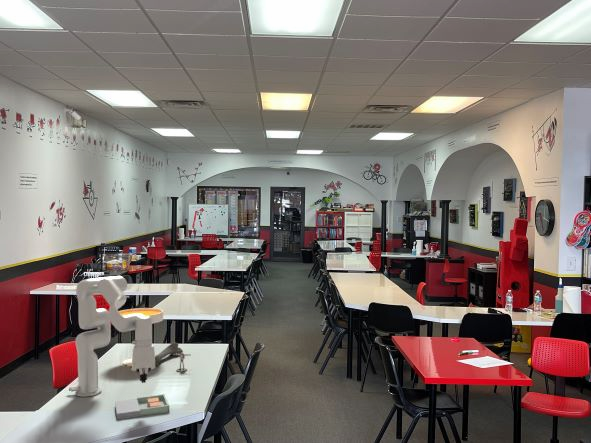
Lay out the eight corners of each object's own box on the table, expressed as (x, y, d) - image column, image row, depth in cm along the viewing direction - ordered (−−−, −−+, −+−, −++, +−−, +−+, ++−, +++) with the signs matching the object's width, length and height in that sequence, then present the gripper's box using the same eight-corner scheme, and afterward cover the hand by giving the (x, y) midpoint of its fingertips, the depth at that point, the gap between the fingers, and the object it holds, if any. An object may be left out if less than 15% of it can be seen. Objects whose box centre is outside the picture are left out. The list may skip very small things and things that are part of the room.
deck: (117, 419, 239) (117, 413, 239) (115, 406, 255) (115, 401, 255) (140, 416, 242) (140, 410, 242) (137, 403, 258) (137, 398, 258)
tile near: (161, 405, 248) (161, 410, 248) (160, 401, 252) (160, 406, 252) (150, 406, 246) (150, 411, 246) (149, 402, 251) (149, 408, 251)
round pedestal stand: (173, 361, 332) (172, 311, 332) (128, 372, 312) (128, 318, 311) (149, 353, 353) (148, 306, 353) (106, 362, 333) (105, 312, 332)
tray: (140, 416, 242) (140, 409, 242) (137, 403, 258) (137, 397, 258) (169, 411, 247) (169, 405, 247) (164, 400, 263) (164, 394, 263)
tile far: (159, 400, 253) (159, 406, 253) (158, 397, 258) (158, 402, 258) (148, 402, 252) (148, 407, 252) (147, 398, 257) (147, 403, 257)
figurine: (192, 369, 315) (192, 349, 315) (188, 372, 309) (188, 352, 309) (174, 368, 317) (174, 348, 317) (170, 372, 311) (170, 351, 310)
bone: (170, 354, 352) (170, 340, 352) (183, 355, 350) (183, 341, 349) (142, 367, 321) (142, 352, 321) (156, 369, 319) (156, 353, 318)
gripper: (127, 346, 242) (127, 386, 242) (161, 343, 247) (160, 382, 248) (126, 342, 249) (126, 381, 249) (159, 339, 254) (158, 377, 255)
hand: (143, 381), depth 249 cm, fingers closed
